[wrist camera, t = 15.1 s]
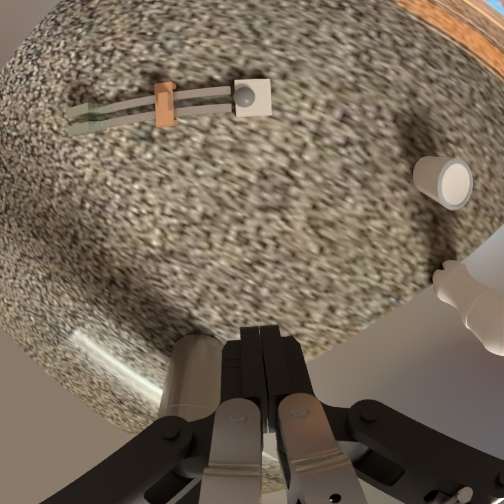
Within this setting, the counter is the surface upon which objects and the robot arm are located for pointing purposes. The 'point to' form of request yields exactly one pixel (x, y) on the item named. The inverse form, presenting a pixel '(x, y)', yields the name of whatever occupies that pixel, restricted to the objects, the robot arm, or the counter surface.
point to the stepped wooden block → (165, 104)
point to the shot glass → (444, 180)
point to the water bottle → (473, 303)
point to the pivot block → (252, 97)
